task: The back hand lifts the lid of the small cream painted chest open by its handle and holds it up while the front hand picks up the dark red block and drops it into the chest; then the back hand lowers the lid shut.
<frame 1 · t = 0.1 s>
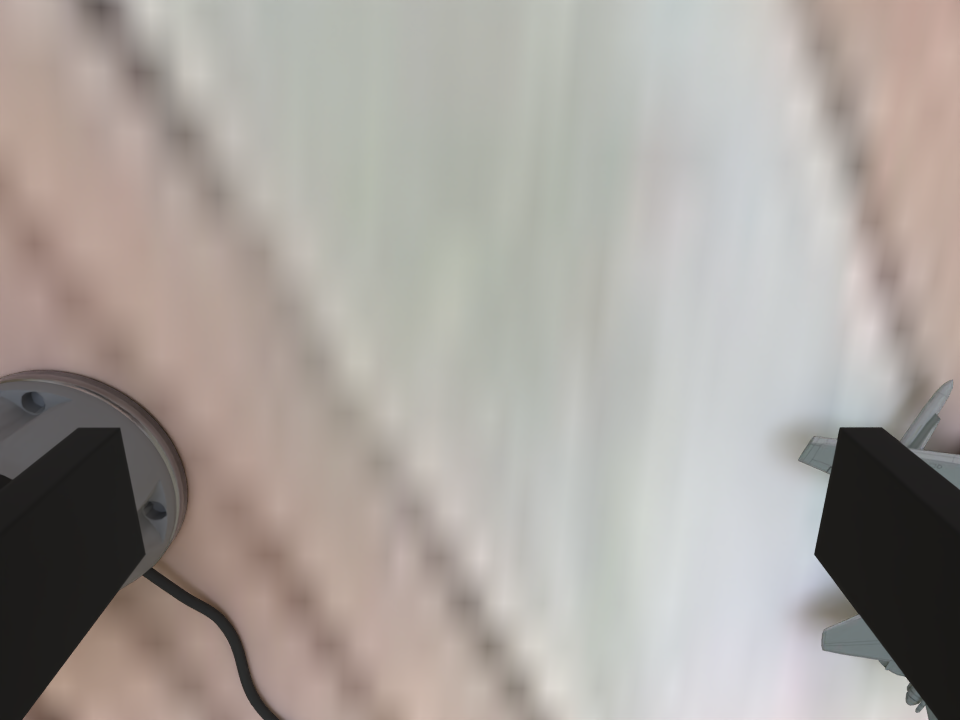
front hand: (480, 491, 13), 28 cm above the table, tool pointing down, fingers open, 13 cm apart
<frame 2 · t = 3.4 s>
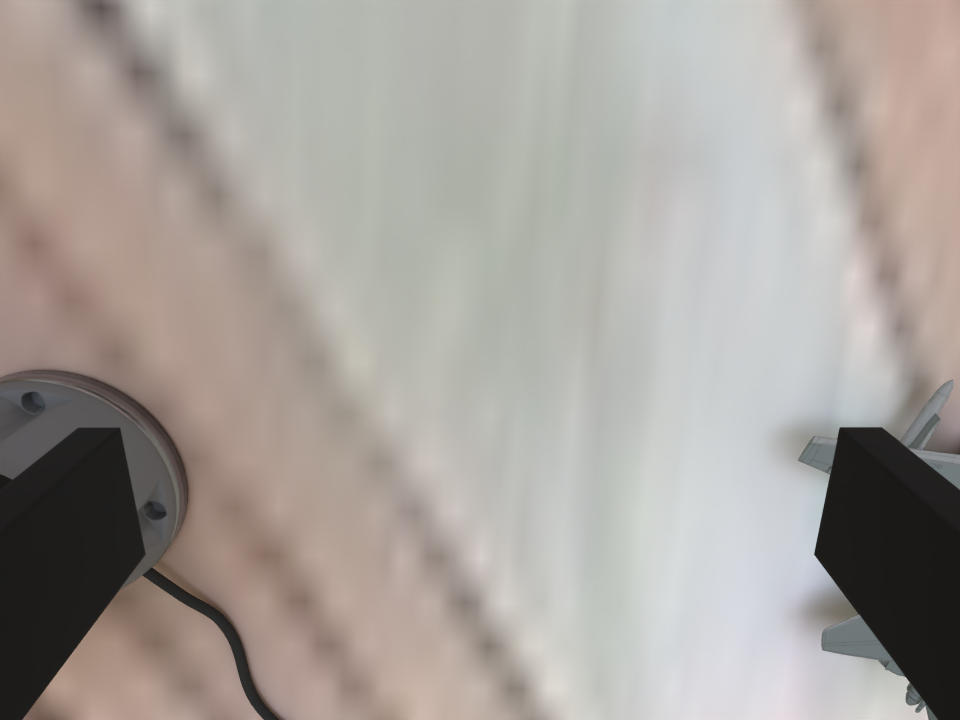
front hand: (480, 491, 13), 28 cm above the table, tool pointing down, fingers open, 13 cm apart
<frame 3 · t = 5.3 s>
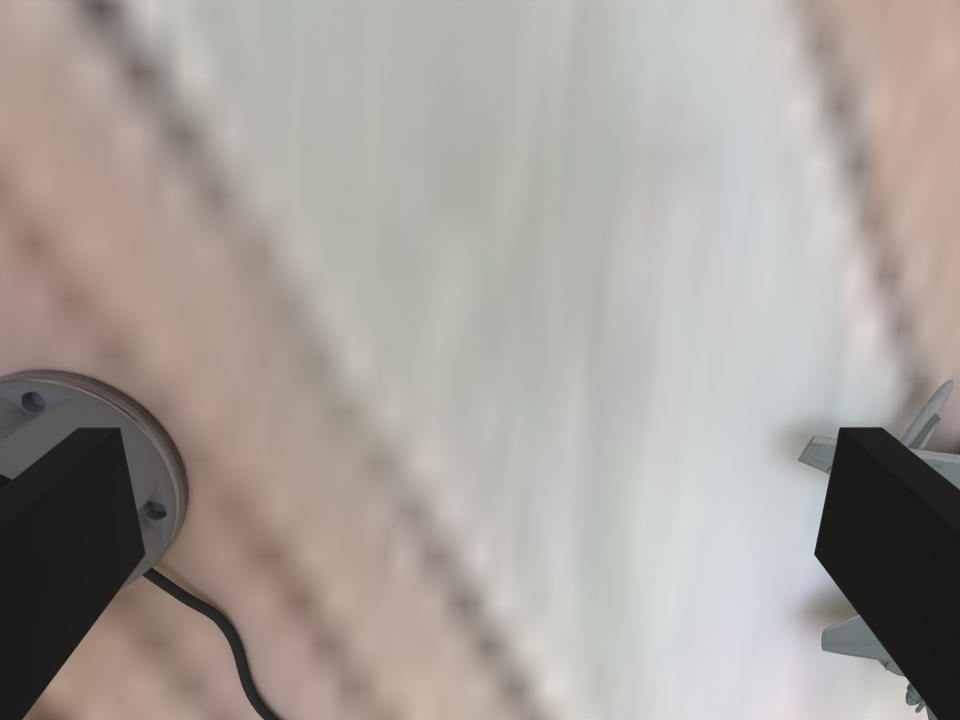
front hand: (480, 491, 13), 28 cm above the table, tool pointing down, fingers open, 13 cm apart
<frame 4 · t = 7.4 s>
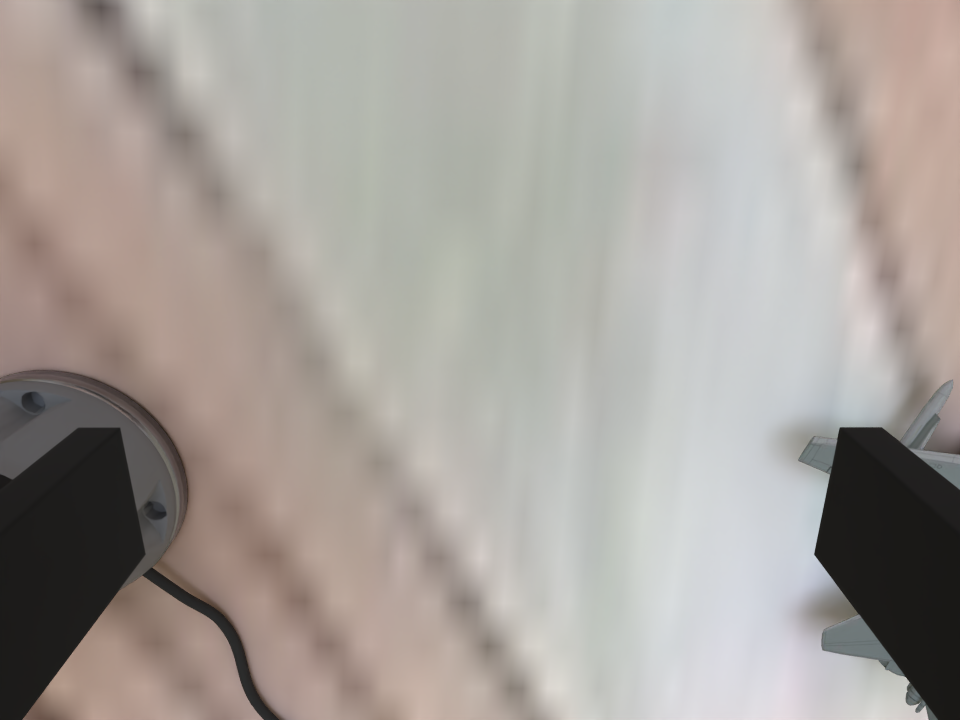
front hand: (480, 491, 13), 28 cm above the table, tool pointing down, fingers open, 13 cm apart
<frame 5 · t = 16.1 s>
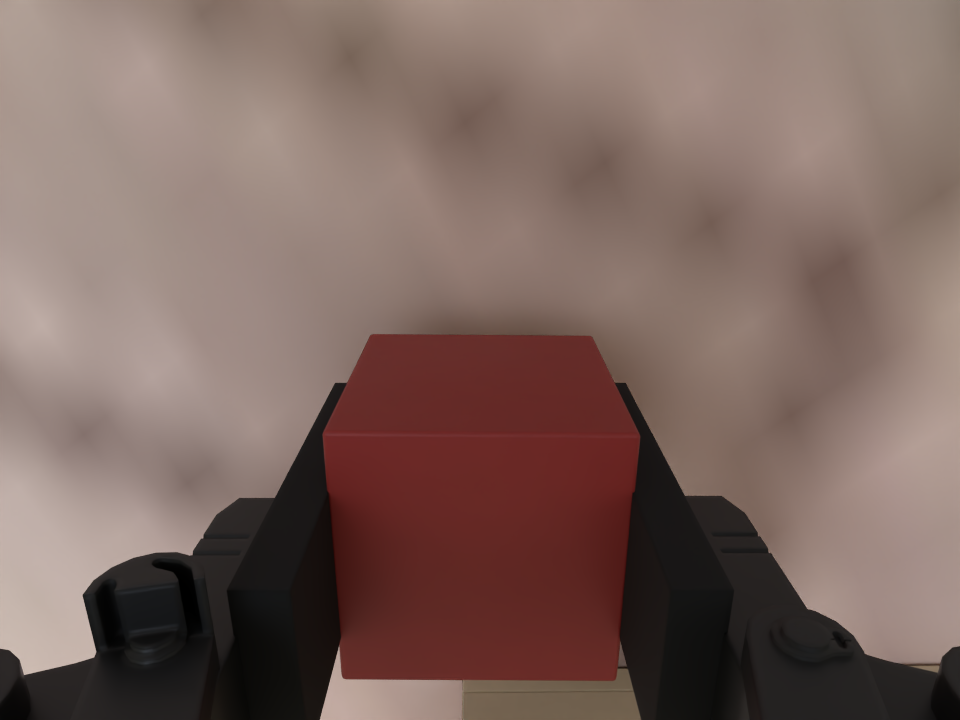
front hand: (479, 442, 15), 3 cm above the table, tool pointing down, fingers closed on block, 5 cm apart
block: (480, 434, 15), point 2 cm above the table, touching front hand
when the front hand's fingers open (17 cm above the table, at t = 19.2 s): block drops 13 cm and tips over, resting on chest.
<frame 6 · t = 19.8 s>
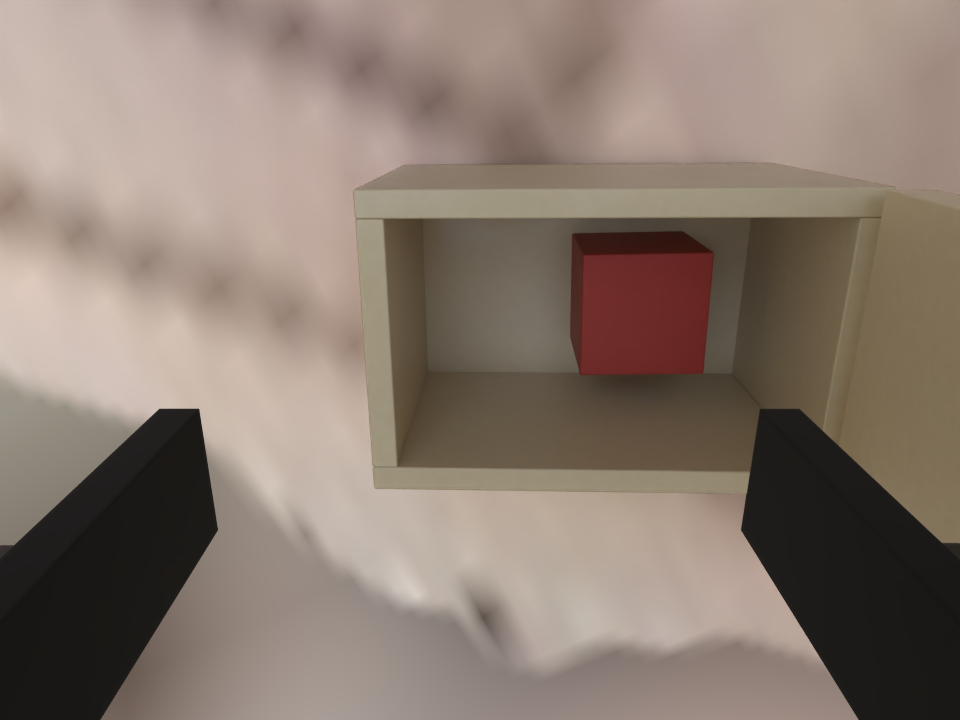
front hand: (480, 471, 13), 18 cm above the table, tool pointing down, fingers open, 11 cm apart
block: (575, 300, 27), point 3 cm above the table, tilted 89°, touching chest
chest: (580, 279, 30), on the table, touching block
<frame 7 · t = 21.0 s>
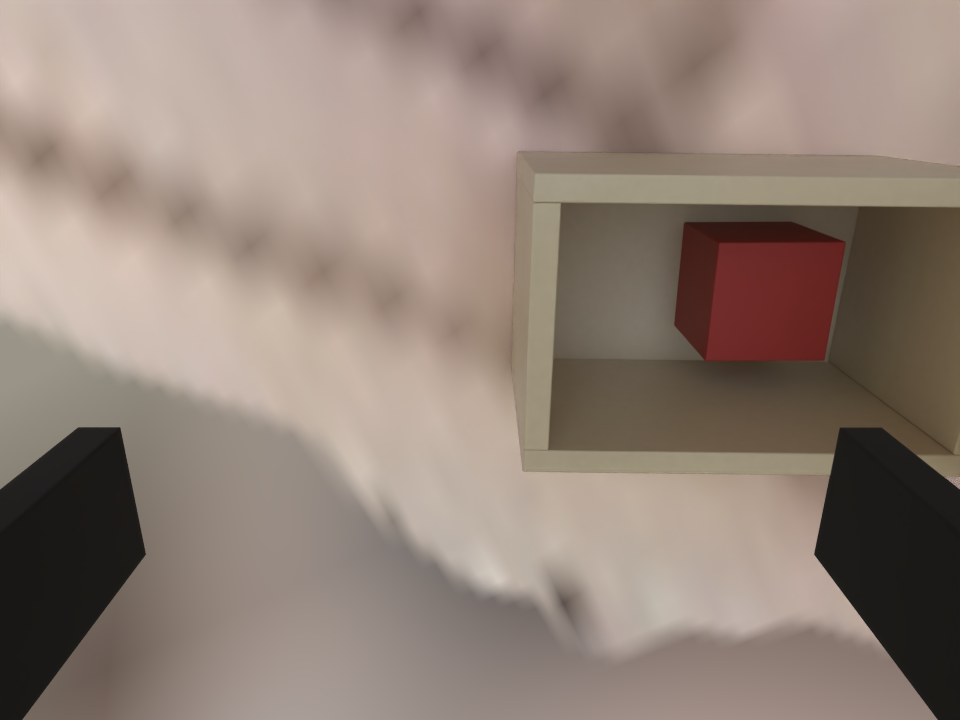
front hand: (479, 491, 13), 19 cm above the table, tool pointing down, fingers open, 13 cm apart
block: (693, 288, 28), point 3 cm above the table, tilted 90°, touching chest
chest: (684, 267, 30), on the table, touching block
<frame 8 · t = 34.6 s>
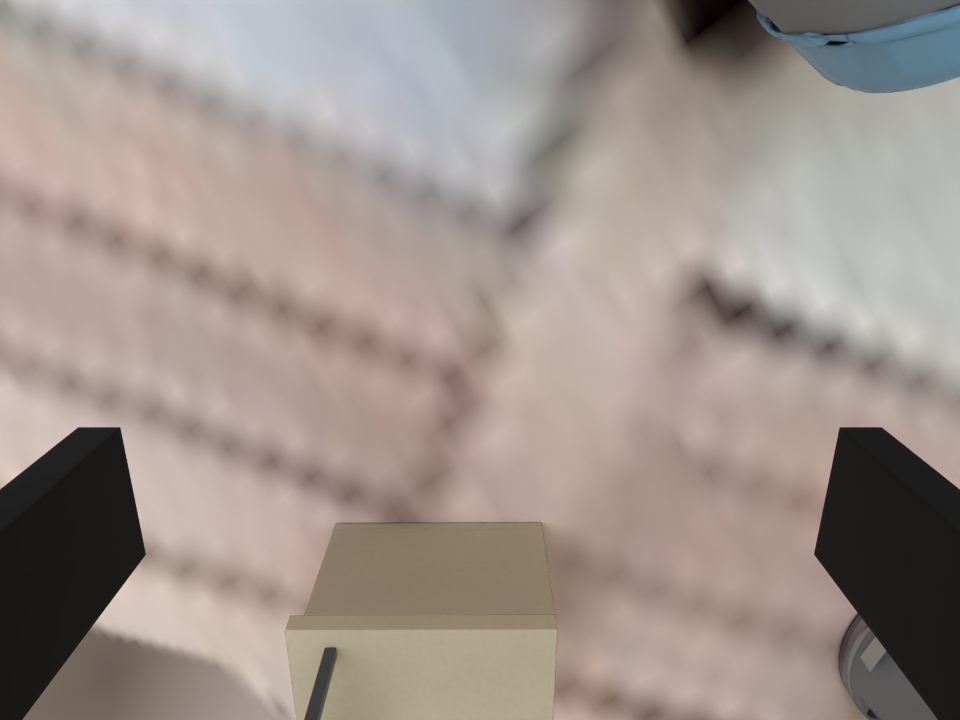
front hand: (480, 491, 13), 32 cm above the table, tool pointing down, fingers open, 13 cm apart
chest: (440, 577, 52), on the table, touching block
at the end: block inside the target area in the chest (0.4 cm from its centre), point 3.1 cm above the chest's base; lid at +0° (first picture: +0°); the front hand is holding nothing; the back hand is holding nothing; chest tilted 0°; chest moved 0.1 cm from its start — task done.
